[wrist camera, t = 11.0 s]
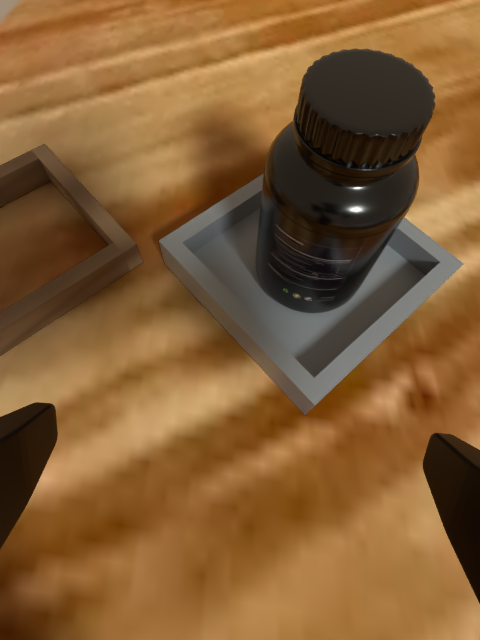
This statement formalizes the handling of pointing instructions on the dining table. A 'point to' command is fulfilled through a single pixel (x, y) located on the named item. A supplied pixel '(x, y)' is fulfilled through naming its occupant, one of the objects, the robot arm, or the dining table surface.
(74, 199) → the walnut collar
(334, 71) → the supplement bottle
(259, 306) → the grey tray
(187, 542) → the dining table surface
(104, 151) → the dining table surface
